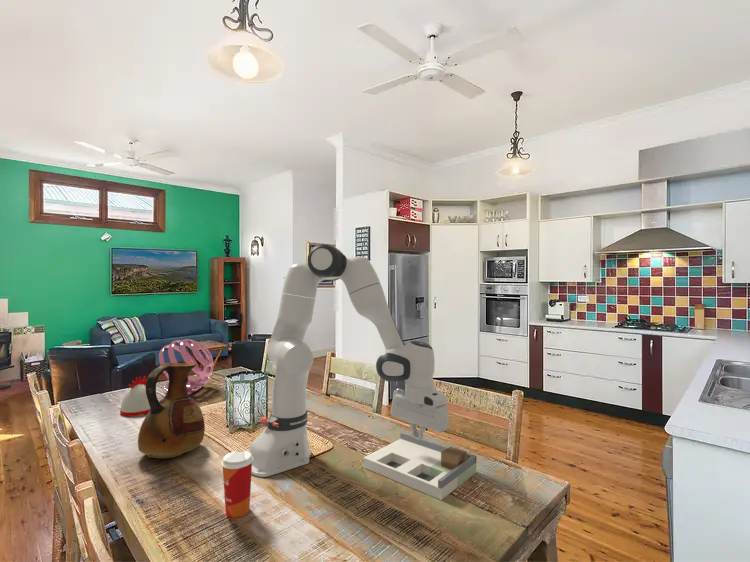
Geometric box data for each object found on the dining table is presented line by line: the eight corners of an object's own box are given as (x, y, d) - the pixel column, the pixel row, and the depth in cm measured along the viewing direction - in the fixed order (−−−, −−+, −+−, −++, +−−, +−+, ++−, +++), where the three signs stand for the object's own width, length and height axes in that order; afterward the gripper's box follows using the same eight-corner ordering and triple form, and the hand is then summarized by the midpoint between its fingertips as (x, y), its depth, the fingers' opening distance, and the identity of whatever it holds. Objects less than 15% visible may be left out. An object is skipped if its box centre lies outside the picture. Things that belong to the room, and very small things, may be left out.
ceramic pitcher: (217, 445, 141) (216, 360, 140) (165, 470, 123) (165, 372, 122) (178, 436, 149) (177, 355, 149) (124, 458, 131) (123, 366, 130)
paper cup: (226, 503, 105) (226, 450, 105) (256, 502, 106) (256, 449, 105) (217, 521, 97) (216, 464, 97) (249, 520, 98) (249, 462, 98)
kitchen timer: (163, 409, 179) (162, 375, 179) (130, 418, 168) (130, 382, 168) (146, 403, 187) (146, 371, 187) (114, 412, 175) (113, 378, 175)
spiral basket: (131, 357, 197) (177, 325, 197) (168, 359, 224) (209, 332, 224) (153, 407, 189) (201, 375, 189) (189, 403, 216) (231, 375, 216)
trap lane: (441, 500, 107) (441, 481, 107) (363, 467, 125) (363, 451, 125) (476, 472, 122) (476, 455, 122) (402, 446, 140) (402, 432, 140)
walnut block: (457, 471, 116) (457, 457, 116) (441, 465, 119) (441, 452, 119) (466, 464, 120) (466, 451, 120) (450, 459, 124) (450, 446, 124)
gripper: (387, 388, 131) (385, 431, 131) (440, 403, 117) (438, 450, 117) (399, 385, 136) (398, 426, 136) (452, 399, 122) (450, 445, 122)
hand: (417, 438), depth 126 cm, fingers closed
